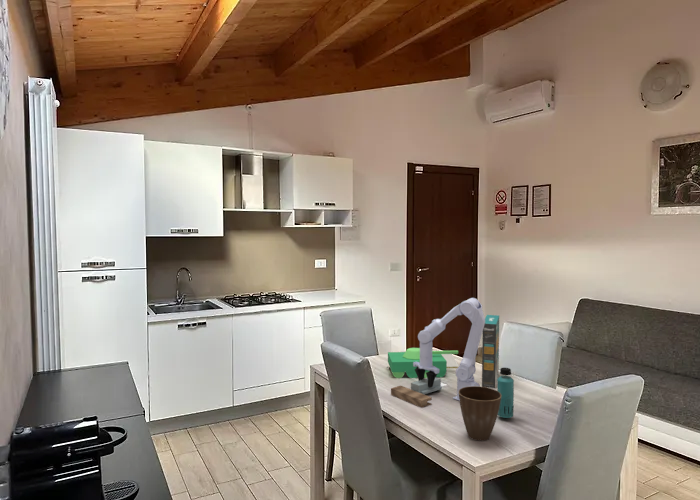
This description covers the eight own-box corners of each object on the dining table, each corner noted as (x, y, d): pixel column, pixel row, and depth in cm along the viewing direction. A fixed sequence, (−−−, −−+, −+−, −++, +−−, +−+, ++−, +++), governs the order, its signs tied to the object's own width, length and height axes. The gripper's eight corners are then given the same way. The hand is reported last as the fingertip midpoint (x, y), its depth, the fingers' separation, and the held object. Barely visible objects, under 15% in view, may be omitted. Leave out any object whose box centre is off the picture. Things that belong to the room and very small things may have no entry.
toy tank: (462, 353, 244) (391, 354, 243) (462, 377, 245) (391, 379, 244) (453, 344, 262) (387, 345, 261) (453, 367, 263) (387, 368, 261)
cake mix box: (486, 373, 251) (486, 314, 250) (498, 374, 249) (499, 315, 247) (481, 386, 231) (482, 323, 229) (495, 388, 229) (496, 324, 227)
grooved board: (431, 404, 209) (431, 397, 209) (421, 407, 206) (421, 400, 206) (400, 391, 224) (400, 385, 224) (390, 394, 221) (390, 388, 221)
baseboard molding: (436, 369, 260) (459, 369, 260) (436, 364, 260) (459, 364, 259) (429, 353, 291) (449, 353, 291) (429, 348, 291) (449, 348, 290)
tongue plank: (432, 386, 231) (432, 376, 230) (443, 389, 225) (443, 380, 225) (411, 392, 222) (411, 382, 222) (421, 396, 217) (421, 386, 217)
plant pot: (480, 424, 189) (480, 383, 188) (509, 439, 176) (510, 395, 174) (449, 432, 182) (449, 390, 181) (478, 449, 168) (478, 403, 167)
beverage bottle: (502, 422, 190) (503, 371, 189) (493, 416, 197) (493, 366, 195) (517, 420, 192) (518, 370, 191) (507, 414, 198) (508, 365, 197)
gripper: (408, 354, 227) (408, 383, 227) (431, 361, 215) (431, 391, 216) (419, 351, 231) (419, 379, 232) (442, 358, 219) (442, 388, 220)
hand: (426, 385), depth 224 cm, fingers closed on tongue plank, 5 cm apart
